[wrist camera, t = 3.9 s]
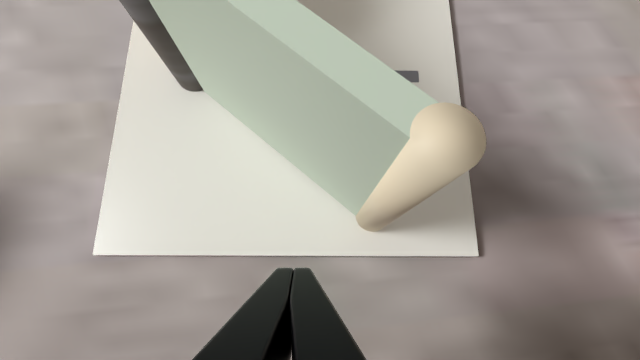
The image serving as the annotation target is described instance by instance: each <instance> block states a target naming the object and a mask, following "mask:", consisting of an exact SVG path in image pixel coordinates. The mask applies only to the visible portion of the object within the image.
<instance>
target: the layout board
mask: <svg viewBox="0 0 640 360" xmlns="http://www.w3.org/2000/svg"><path fill="white" fill-rule="evenodd" d="M297 1H298V2H299V3H301V4H302V5H304V6H305V7H306V8H308V9H309V10H311V11H312V12H313V13H315V14H316V15H318V16H319V17H320V18H322V19H323V20H324V21H326V22H327V23H329V24H330V25H331V26H333V27H334V28H336V29H337V30H338V31H340V32H341V33H343V34H344V35H345V36H347V37H348V38H350V39H351V40H352V41H354V42H355V43H357V44H358V45H359V46H361V47H362V48H364V49H365V50H366V51H368V52H369V53H371V54H372V55H373V56H375V57H376V58H378V59H379V60H380V61H382V62H383V63H384V64H386V65H387V66H389V67H390V68H391V69H393V70H394V71H396V72H397V73H398V74H400V75H401V76H403V77H404V78H405V79H407V80H408V81H410V82H411V83H412V84H414V85H415V86H417V87H418V88H419V89H421V90H422V91H424V92H425V93H426V94H428V95H429V96H431V97H432V98H433V99H435V100H436V101H437V102H439V103H444V102H446V103H453V104H457V105H460V106H461V101H460V92H459V84H458V75H457V67H456V58H455V50H454V42H453V33H452V25H451V16H450V8H449V0H297ZM93 255H98V256H408V257H477V256H479V254H478V245H477V237H476V228H475V220H474V211H473V203H472V194H471V186H470V177H469V170H468V171H467V172H465V173H464V174H462V175H461V176H459V177H458V178H456V179H455V180H453V181H452V182H451V183H449V184H448V185H446V186H445V187H443V188H442V189H440V190H439V191H437V192H436V193H434V194H433V195H431V196H430V197H428V198H427V199H425V200H424V201H422V202H421V203H419V204H418V205H416V206H415V207H413V208H412V209H410V210H409V211H407V212H406V213H405V214H403V215H402V216H400V217H399V218H397V219H396V220H394V221H393V222H391V223H390V224H388V225H387V226H385V227H384V228H382V229H381V230H379V231H375V232H370V231H366V230H364V229H363V228H361V227H360V226H359V224H358V223H357V220H356V216H355V215H354V214H353V213H352V212H350V211H349V210H348V209H347V208H345V207H344V206H343V205H342V204H341V203H339V202H338V201H337V200H336V199H335V198H333V197H332V196H331V195H330V194H328V193H327V192H326V191H325V190H324V189H322V188H321V187H320V186H319V185H317V184H316V183H315V182H314V181H313V180H311V179H310V178H309V177H308V176H307V175H305V174H304V173H303V172H302V171H300V170H299V169H298V168H297V167H296V166H294V165H293V164H292V163H291V162H289V161H288V160H287V159H286V158H285V157H283V156H282V155H281V154H280V153H278V152H277V151H276V150H275V149H274V148H272V147H271V146H270V145H269V144H268V143H266V142H265V141H264V140H263V139H261V138H260V137H259V136H258V135H257V134H255V133H254V132H253V131H252V130H250V129H249V128H248V127H247V126H246V125H244V124H243V123H242V122H241V121H240V120H238V119H237V118H236V117H235V116H233V115H232V114H231V113H230V112H229V111H227V110H226V109H225V108H224V107H222V106H221V105H220V104H219V103H218V102H216V101H215V100H214V99H213V98H211V97H210V96H209V95H208V94H207V93H205V92H204V90H202V91H197V92H192V91H188V90H185V89H184V88H182V87H181V86H180V84H179V83H178V82H177V80H176V79H175V77H174V76H173V75H172V73H171V72H170V70H169V69H168V68H167V66H166V65H165V63H164V62H163V61H162V59H161V58H160V56H159V55H158V54H157V52H156V51H155V49H154V48H153V47H152V45H151V44H150V42H149V41H148V40H147V38H146V37H145V36H144V34H143V33H142V31H141V30H140V29H139V27H138V26H137V24H136V23H135V22H134V21H133V27H132V33H131V38H130V44H129V50H128V55H127V61H126V67H125V73H124V78H123V84H122V90H121V96H120V101H119V107H118V113H117V118H116V124H115V130H114V136H113V141H112V147H111V153H110V159H109V164H108V170H107V176H106V181H105V187H104V193H103V199H102V204H101V210H100V216H99V222H98V227H97V233H96V239H95V244H94V250H93Z"/></svg>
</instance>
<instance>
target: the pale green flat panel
mask: <svg viewBox="0 0 640 360" xmlns="http://www.w3.org/2000/svg"><path fill="white" fill-rule="evenodd" d="M149 1H150V3H151V5H152V6H153V8H154V10H155V11H156V13H157V15H158V16H159V18H160V19H161V21H162V23H163V24H164V26H165V28H166V29H167V31H168V33H169V34H170V36H171V38H172V39H173V41H174V42H175V44H176V46H177V47H178V49H179V51H180V52H181V54H182V56H183V57H184V59H185V61H186V62H187V64H188V66H189V67H190V69H191V70H192V72H193V74H194V75H195V77H196V79H197V80H198V82H199V84H200V85H201V87H202V89H203V90H204V92H205V93H207V94H208V95H209V96H210V97H211V98H213V99H214V100H215V101H216V102H218V103H219V104H220V105H221V106H222V107H224V108H225V109H226V110H227V111H229V112H230V113H231V114H232V115H233V116H235V117H236V118H237V119H238V120H240V121H241V122H242V123H243V124H244V125H246V126H247V127H248V128H249V129H250V130H252V131H253V132H254V133H255V134H257V135H258V136H259V137H260V138H261V139H263V140H264V141H265V142H266V143H268V144H269V145H270V146H271V147H272V148H274V149H275V150H276V151H277V152H278V153H280V154H281V155H282V156H283V157H285V158H286V159H287V160H288V161H289V162H291V163H292V164H293V165H294V166H296V167H297V168H298V169H299V170H300V171H302V172H303V173H304V174H305V175H307V176H308V177H309V178H310V179H311V180H313V181H314V182H315V183H316V184H317V185H319V186H320V187H321V188H322V189H324V190H325V191H326V192H327V193H328V194H330V195H331V196H332V197H333V198H335V199H336V200H337V201H338V202H339V203H341V204H342V205H343V206H344V207H345V208H347V209H348V210H349V211H350V212H352V213H353V214H354V215H355V216H356V220H357V223H358V224H359V226H360V227H361V228H363V229H364V230H366V231H370V232H375V231H379V230H381V229H382V228H384V227H385V226H387V225H388V224H390V223H391V222H393V221H394V220H396V219H397V218H399V217H400V216H402V215H403V214H405V213H406V212H407V211H409V210H410V209H412V208H413V207H415V206H416V205H418V204H419V203H421V202H422V201H424V200H425V199H427V198H428V197H430V196H431V195H433V194H434V193H436V192H437V191H439V190H440V189H442V188H443V187H445V186H446V185H448V184H449V183H451V182H452V181H453V180H455V179H456V178H458V177H459V176H461V175H462V174H464V173H465V172H467V171H468V170H470V169H471V168H473V167H474V166H475V165H476V164H477V163H478V162H479V161H480V160H481V158H482V157H483V155H484V152H485V149H486V134H485V131H484V128H483V126H482V124H481V123H480V121H479V120H478V118H477V117H476V116H475V115H474V114H473V113H472V112H470V111H469V110H467V109H466V108H464V107H462V106H460V105H457V104H453V103H446V102H444V103H439V102H437V101H436V100H435V99H433V98H432V97H431V96H429V95H428V94H426V93H425V92H424V91H422V90H421V89H419V88H418V87H417V86H415V85H414V84H412V83H411V82H410V81H408V80H407V79H405V78H404V77H403V76H401V75H400V74H398V73H397V72H396V71H394V70H393V69H391V68H390V67H389V66H387V65H386V64H384V63H383V62H382V61H380V60H379V59H378V58H376V57H375V56H373V55H372V54H371V53H369V52H368V51H366V50H365V49H364V48H362V47H361V46H359V45H358V44H357V43H355V42H354V41H352V40H351V39H350V38H348V37H347V36H345V35H344V34H343V33H341V32H340V31H338V30H337V29H336V28H334V27H333V26H331V25H330V24H329V23H327V22H326V21H324V20H323V19H322V18H320V17H319V16H318V15H316V14H315V13H313V12H312V11H311V10H309V9H308V8H306V7H305V6H304V5H302V4H301V3H299V2H298V1H297V0H149Z"/></svg>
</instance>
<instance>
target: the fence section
mask: <svg viewBox="0 0 640 360" xmlns="http://www.w3.org/2000/svg"><path fill="white" fill-rule="evenodd" d="M119 1H120V2H121V3H122V5H123V6H124V8H125V9H126V10H127V12H128V13H129V15H130V16H131V17H132V19H133V20H134V22H135V23H136V24H137V26H138V27H139V29H140V30H141V31H142V33H143V34H144V36H145V37H146V38H147V40H148V41H149V42H150V44H151V45H152V47H153V48H154V49H155V51H156V52H157V54H158V55H159V56H160V58H161V59H162V61H163V62H164V63H165V65H166V66H167V68H168V69H169V70H170V72H171V73H172V75H173V76H174V77H175V79H176V80H177V82H178V83H179V84H180V86H181V87H182V88H184V89H185V90H188V91H192V92H197V91H202V90H203V89H202V87H201V85H200V84H199V82H198V80H197V79H196V77H195V75H194V74H193V72H192V70H191V69H190V67H189V66H188V64H187V62H186V61H185V59H184V57H183V56H182V54H181V52H180V51H179V49H178V47H177V46H176V44H175V42H174V41H173V39H172V38H171V36H170V34H169V33H168V31H167V29H166V28H165V26H164V24H163V23H162V21H161V19H160V18H159V16H158V15H157V13H156V11H155V10H154V8H153V6H152V5H151V3H150V1H149V0H119Z"/></svg>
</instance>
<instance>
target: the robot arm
mask: <svg viewBox="0 0 640 360" xmlns="http://www.w3.org/2000/svg"><path fill="white" fill-rule="evenodd" d="M291 350H292V360H366V358H365V357H364V355H363V353H362V352H361V350H360V349H359V347H358V345H357V344H356V342H355V340H354V339H353V337H352V336H351V334H350V332H349V331H348V329H347V327H346V326H345V324H344V323H343V321H342V319H341V318H340V316H339V314H338V313H337V311H336V310H335V308H334V306H333V305H332V303H331V301H330V300H329V298H328V297H327V295H326V293H325V292H324V290H323V288H322V287H321V285H320V284H319V282H318V280H317V279H316V277H315V275H314V274H313V272H312V271H311V269H310V268H295V269H294V271H293V269H292V268H277V269H276V270H275V271H274V272H273V273H272V274H271V275H270V276H269V278H268V279H267V280H266V281H265V282H264V283H263V284H262V285H261V286H260V287H259V288H258V289H257V290H256V292H255V293H254V294H253V295H252V296H251V297H250V298H249V299H248V300H247V301H246V302H245V303H244V304H243V306H242V307H241V308H240V309H239V310H238V311H237V312H236V313H235V314H234V315H233V316H232V317H231V318H230V320H229V321H228V322H227V323H226V324H225V325H224V326H223V327H222V328H221V329H220V330H219V331H218V332H217V333H216V335H215V336H214V337H213V338H212V339H211V340H210V341H209V342H208V343H207V344H206V345H205V346H204V347H203V349H202V350H201V351H200V352H199V353H198V354H197V355H196V356H195V357H194V358H193V359H192V360H290V358H291Z"/></svg>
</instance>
